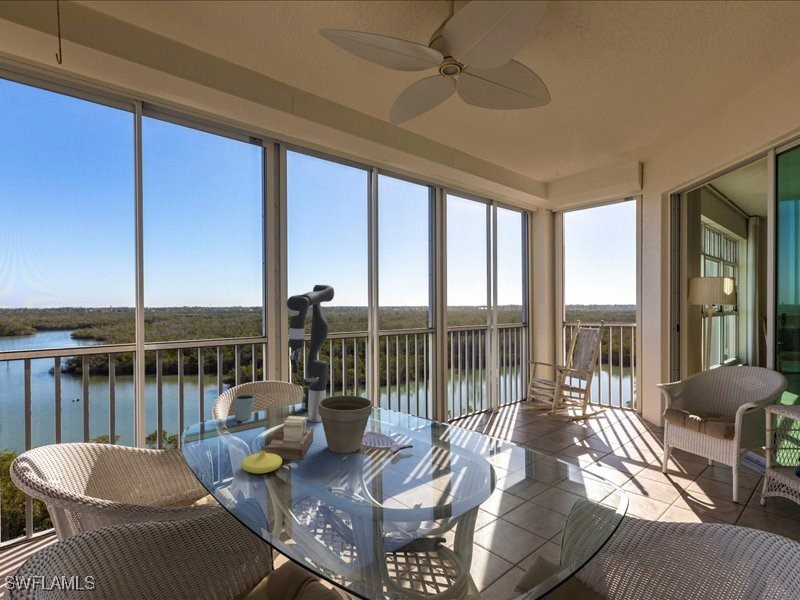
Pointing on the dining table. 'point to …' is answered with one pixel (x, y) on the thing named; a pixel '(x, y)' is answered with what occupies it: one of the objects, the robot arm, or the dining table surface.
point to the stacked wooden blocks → (294, 431)
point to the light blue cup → (243, 407)
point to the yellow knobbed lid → (261, 462)
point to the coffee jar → (306, 391)
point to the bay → (289, 452)
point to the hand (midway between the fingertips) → (295, 372)
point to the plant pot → (344, 421)
